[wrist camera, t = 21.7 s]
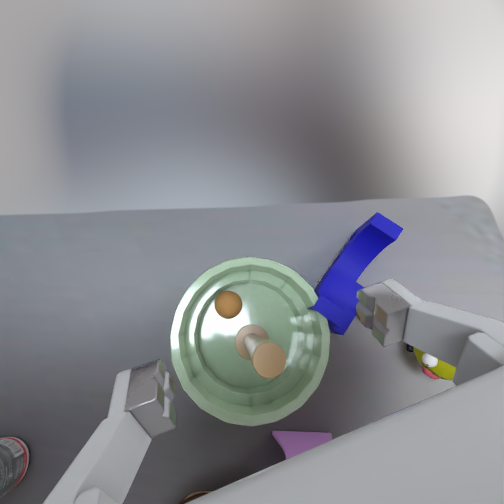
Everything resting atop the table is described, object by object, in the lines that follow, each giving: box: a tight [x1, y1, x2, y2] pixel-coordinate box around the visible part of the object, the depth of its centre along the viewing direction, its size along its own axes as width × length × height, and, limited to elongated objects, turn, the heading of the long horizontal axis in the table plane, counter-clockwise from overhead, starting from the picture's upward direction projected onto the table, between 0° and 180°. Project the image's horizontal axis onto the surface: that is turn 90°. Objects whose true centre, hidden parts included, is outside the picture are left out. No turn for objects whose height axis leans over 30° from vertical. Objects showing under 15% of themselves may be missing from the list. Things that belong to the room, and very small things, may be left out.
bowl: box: [170, 257, 330, 427], centre depth 27 cm, size 15×15×6 cm
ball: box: [215, 290, 242, 319], centre depth 28 cm, size 3×3×3 cm
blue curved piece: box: [307, 212, 403, 335], centre depth 28 cm, size 12×4×6 cm, turn 143°
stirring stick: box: [235, 324, 286, 379], centre depth 21 cm, size 4×4×16 cm
